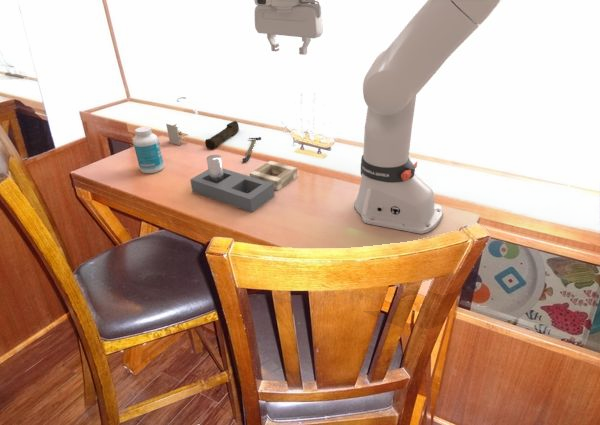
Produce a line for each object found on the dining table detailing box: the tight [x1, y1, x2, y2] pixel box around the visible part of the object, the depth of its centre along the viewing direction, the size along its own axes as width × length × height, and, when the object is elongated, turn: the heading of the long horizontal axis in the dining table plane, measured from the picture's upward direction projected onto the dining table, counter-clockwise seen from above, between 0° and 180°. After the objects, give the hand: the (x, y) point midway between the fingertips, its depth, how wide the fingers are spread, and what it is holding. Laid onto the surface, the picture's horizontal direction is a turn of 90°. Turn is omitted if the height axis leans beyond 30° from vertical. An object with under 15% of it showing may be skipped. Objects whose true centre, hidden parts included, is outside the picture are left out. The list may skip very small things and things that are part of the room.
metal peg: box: [206, 154, 224, 184], centre depth 124 cm, size 4×4×10 cm
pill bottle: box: [132, 126, 165, 174], centre depth 136 cm, size 8×7×14 cm
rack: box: [189, 168, 275, 213], centre depth 123 cm, size 22×10×4 cm, turn 56°
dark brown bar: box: [204, 120, 240, 151], centre depth 157 cm, size 19×4×5 cm, turn 153°
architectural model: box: [166, 123, 189, 146], centre depth 155 cm, size 3×7×7 cm, turn 54°
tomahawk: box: [242, 136, 262, 163], centre depth 150 cm, size 21×7×1 cm, turn 173°
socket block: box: [249, 160, 298, 191], centre depth 130 cm, size 10×10×3 cm
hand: (289, 52), depth 121 cm, fingers open, 8 cm apart
